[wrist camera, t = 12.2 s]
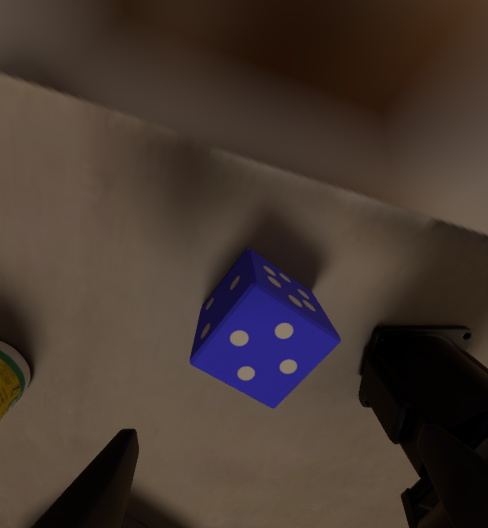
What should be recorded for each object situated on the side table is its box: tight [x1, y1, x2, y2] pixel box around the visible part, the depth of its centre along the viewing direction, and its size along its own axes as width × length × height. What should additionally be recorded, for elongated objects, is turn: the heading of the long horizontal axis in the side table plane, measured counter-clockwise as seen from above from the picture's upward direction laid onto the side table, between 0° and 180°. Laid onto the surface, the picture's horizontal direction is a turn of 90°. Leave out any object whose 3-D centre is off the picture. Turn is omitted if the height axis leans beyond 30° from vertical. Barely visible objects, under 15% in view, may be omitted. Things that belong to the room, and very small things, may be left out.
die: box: [190, 249, 340, 408], centre depth 14 cm, size 5×5×5 cm
